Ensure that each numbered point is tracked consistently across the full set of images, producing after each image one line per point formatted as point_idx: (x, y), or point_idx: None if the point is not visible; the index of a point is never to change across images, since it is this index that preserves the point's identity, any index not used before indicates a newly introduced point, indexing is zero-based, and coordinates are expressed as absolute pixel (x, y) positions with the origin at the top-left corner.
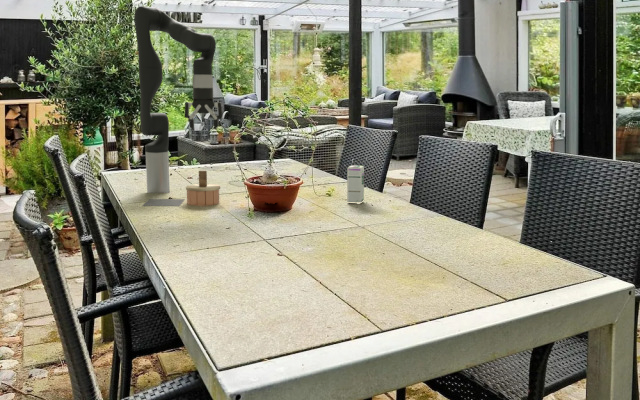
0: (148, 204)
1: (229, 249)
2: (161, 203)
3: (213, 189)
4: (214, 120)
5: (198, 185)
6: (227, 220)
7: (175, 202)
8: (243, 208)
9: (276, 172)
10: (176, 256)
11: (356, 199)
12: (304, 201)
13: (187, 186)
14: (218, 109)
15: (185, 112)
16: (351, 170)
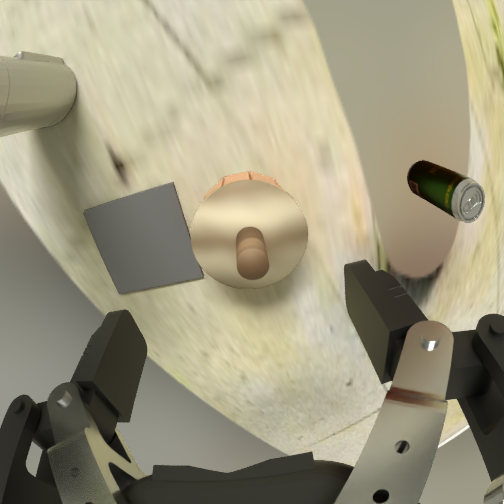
0: (121, 275)
1: (355, 430)
2: (142, 258)
3: (295, 265)
4: (387, 374)
5: (227, 225)
6: (343, 350)
7: (169, 237)
8: (364, 250)
9: (483, 194)
10: (309, 450)
11: None
12: (476, 146)
13: (199, 253)
14: (489, 465)
15: (49, 479)
16: None
